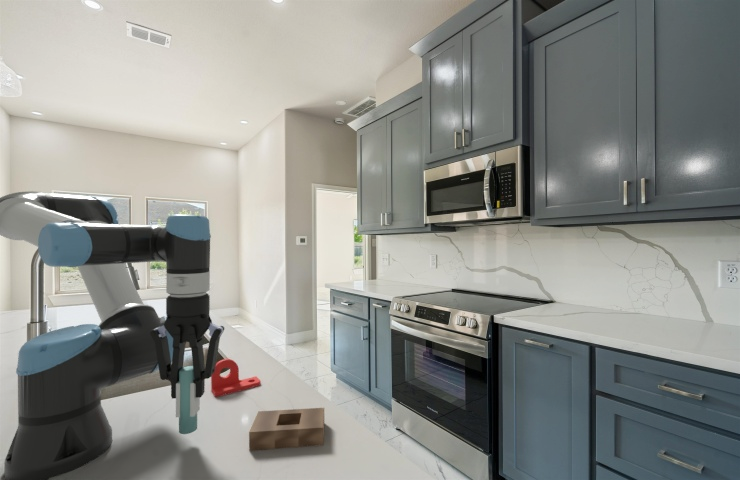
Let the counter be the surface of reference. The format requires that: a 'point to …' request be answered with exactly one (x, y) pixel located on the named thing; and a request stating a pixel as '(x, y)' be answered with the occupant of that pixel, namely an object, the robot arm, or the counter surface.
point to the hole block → (287, 429)
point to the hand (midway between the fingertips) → (187, 413)
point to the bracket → (230, 379)
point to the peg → (186, 401)
